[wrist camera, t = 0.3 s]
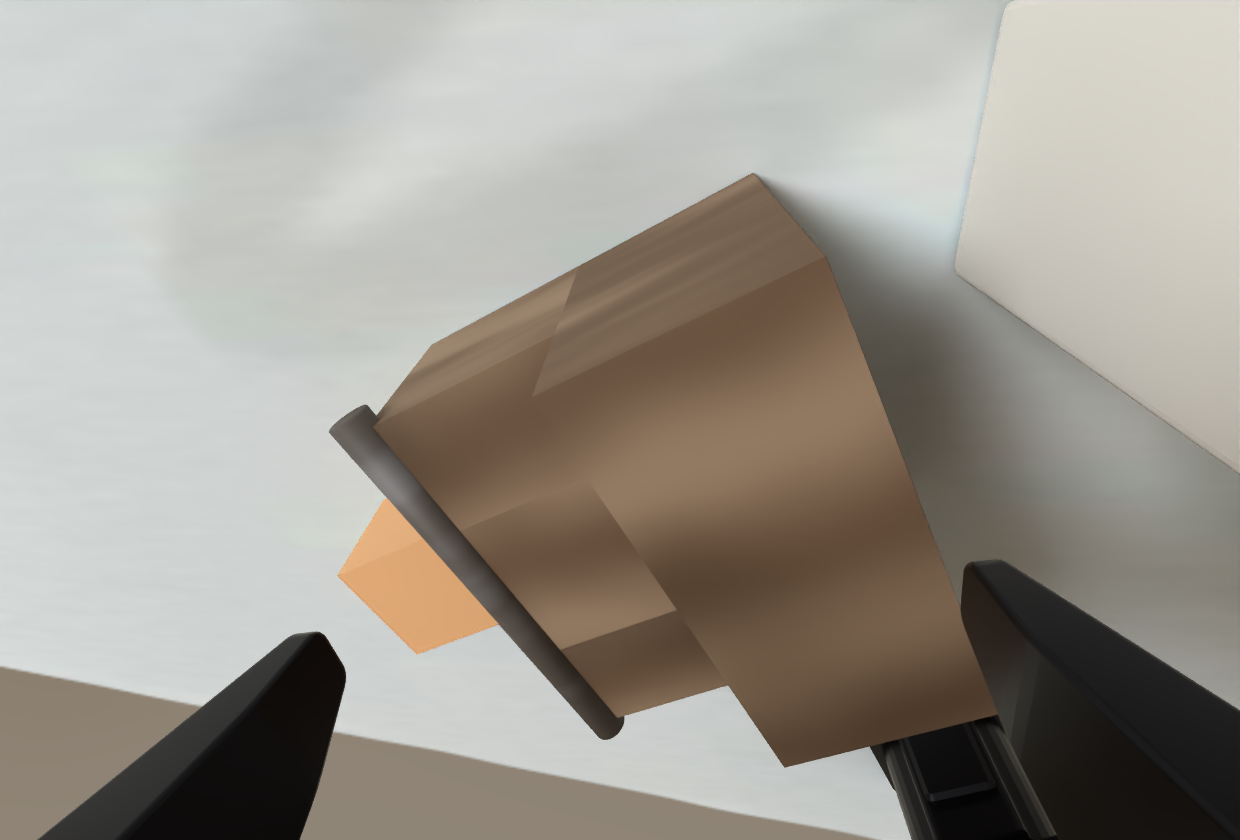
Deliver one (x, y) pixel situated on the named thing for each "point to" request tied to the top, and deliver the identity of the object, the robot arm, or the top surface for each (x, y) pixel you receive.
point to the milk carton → (1119, 198)
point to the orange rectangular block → (411, 585)
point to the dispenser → (686, 489)
